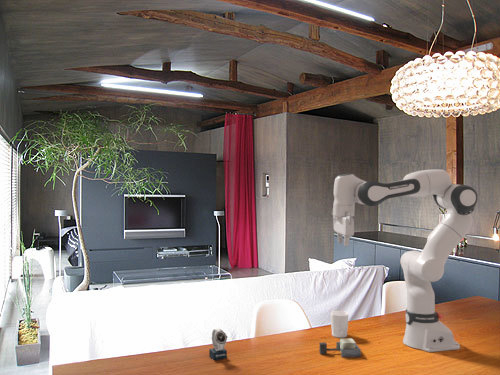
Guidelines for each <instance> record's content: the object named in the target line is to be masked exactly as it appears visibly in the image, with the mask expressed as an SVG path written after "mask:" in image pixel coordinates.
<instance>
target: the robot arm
mask: <svg viewBox="0 0 500 375" xmlns="http://www.w3.org/2000/svg"><path fill="white" fill-rule="evenodd" d="M333 182H334V183H333V197H334V200H333V204H332V205H333V207H332V210H331V215H332V216H333V217H332V226H333V231H334V232H336V236H337V243H338V244H343V246H344V247H349V245H350V239H351V237H354V235H355V220H354V218H353V217H355V209H356V208H355V206H356V203H358V204H361V205H366V206H368V207H376V206H379V205H380V204H382V203H383V202H385V201H386V200H389V199H395V198H398V197H399V198H400V197H403V196H405V197H406V196H407V197H410V198H420V197H421V198H422V197H427V196H433V200H434V203H435V205H437V207H439V208H442V209H444V210H446V212H445V215H444V217H443V218H442V220H440V222H439V223H438V224H437V225H436V226H435V228H434V229H432V231H431V232H430V233H429V234H428V236H427V239H426V243H425V246H424V247H423V249H422V250H421V251H418V250H407V251H406V252H404V253H403V254H402V255H401V257H400V261H399V262H400V266H401V268H402V271H403V278H404V282H405V288H406V309H405V324H406V325H405V330H404V336H403V339H402V343H403V344H404V345H406V346H408V347H410V348H413V349H417V350H422V351H426V352H429V353H433V352H434V353H435V352H444V351H453V350H460V349H461V346H460V343H459V342H458V341H456V340H455V337H454V333H453V331H452V330H451V329H450V328H449V327H448V326H447V325H445V324H444V323H443V322H441V321H440V320H444V315H443V314H441V313H439V312H436V310H435V309H436V307H435V306H436V304H435V300H436V298H435V296H436V294H435V291H434V288H433V286H432V283H433V282H437V281H439V280H440V279H442V277H443V275H444V273H445V264H446V262H447V261H448V258H449V256H450V255H451V254H452V252H453V251H454V250H455V248H456V247H457V246H458V245H459V243H460V242H461V241H462V240H463V239H464V238H465V236H467V233H468V232H469V231H470V229H471V227H472V226H473V222H474V218H473V216H472V213H473V212H474V210H475V207H476V205H477V202H478V200H479V198H478V197H479V195H478V193H477V190H476V189H475V188H473V187H471V186H470V185H468V184H453V182H452V180H451V176H450V174H449V173H448V172H447V171H446V170H445V169H434V168H433V169H424V170H417V171H413V172H410V173H407V174H406V175H405V176H404V177H403V179H400V180H397V181H396V180H395V181H391V182H390V181H389V182H386V183H385V182H380V181H375V180H369V181H365V180H363V179H361V178H359V177H357V176H356V175H355V174H354V173H345V174H344V173H343V174H339V175H337V176H336V177H335V179H334V181H333ZM343 238H344V239H343ZM431 282H432V283H431Z"/></svg>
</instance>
